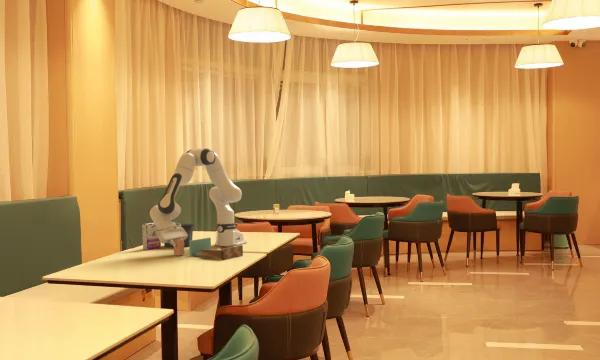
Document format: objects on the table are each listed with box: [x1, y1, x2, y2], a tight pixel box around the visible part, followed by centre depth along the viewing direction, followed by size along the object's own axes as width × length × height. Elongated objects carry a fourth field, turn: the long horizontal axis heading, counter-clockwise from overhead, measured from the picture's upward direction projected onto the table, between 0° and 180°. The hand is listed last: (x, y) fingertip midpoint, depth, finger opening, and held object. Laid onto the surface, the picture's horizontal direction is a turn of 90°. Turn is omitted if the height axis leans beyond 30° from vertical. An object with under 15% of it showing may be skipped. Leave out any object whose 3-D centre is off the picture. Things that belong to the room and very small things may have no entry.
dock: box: [200, 244, 244, 261], centre depth 377 cm, size 18×16×6 cm
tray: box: [188, 237, 212, 258], centre depth 382 cm, size 17×16×9 cm
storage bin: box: [163, 222, 196, 248], centre depth 428 cm, size 21×16×14 cm
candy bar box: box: [141, 222, 162, 251], centre depth 417 cm, size 11×5×16 cm, turn 143°
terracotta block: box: [173, 239, 185, 256], centre depth 384 cm, size 4×4×9 cm
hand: (179, 245), depth 384 cm, fingers closed on terracotta block, 4 cm apart
